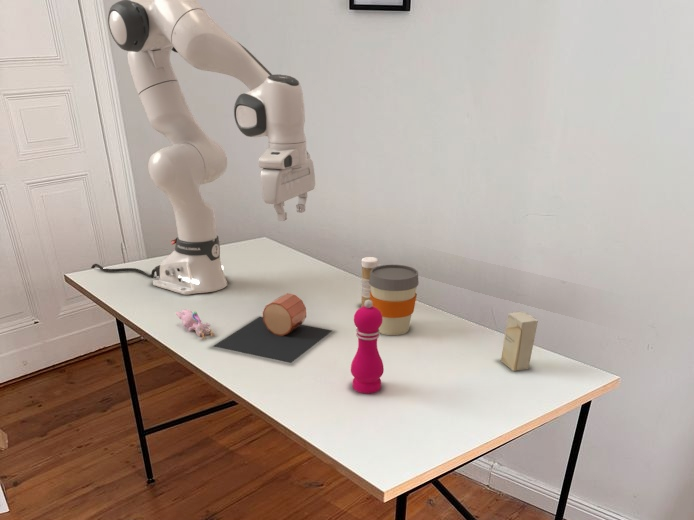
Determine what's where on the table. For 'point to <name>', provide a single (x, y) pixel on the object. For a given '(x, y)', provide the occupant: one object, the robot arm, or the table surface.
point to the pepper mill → (367, 350)
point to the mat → (273, 341)
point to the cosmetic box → (519, 340)
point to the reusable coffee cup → (394, 296)
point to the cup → (284, 314)
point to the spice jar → (367, 277)
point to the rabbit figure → (194, 323)
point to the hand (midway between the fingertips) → (291, 216)
